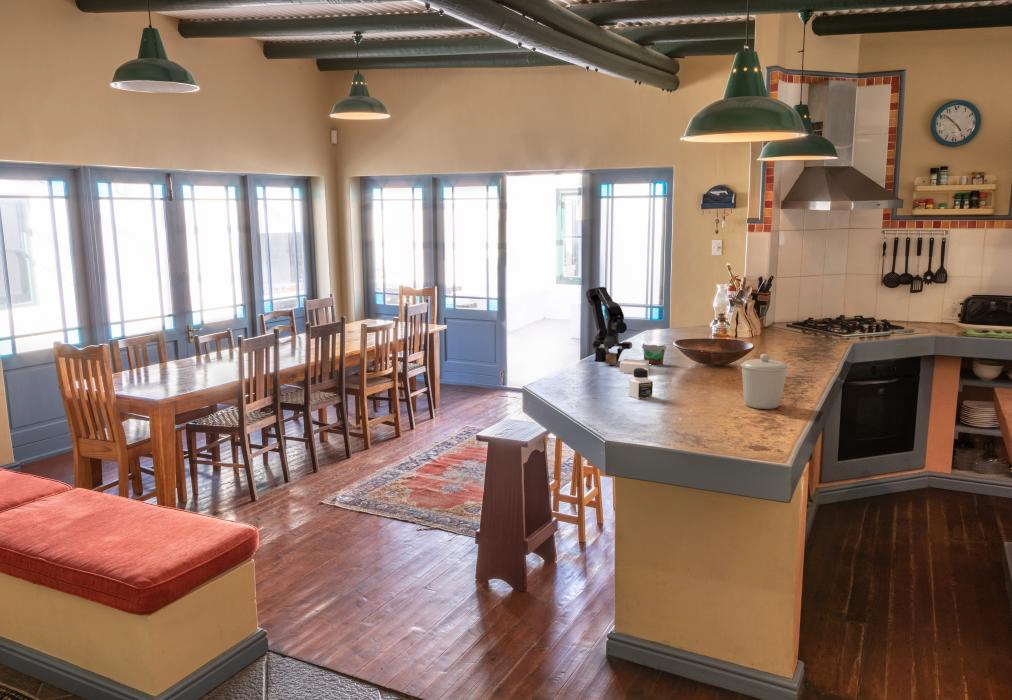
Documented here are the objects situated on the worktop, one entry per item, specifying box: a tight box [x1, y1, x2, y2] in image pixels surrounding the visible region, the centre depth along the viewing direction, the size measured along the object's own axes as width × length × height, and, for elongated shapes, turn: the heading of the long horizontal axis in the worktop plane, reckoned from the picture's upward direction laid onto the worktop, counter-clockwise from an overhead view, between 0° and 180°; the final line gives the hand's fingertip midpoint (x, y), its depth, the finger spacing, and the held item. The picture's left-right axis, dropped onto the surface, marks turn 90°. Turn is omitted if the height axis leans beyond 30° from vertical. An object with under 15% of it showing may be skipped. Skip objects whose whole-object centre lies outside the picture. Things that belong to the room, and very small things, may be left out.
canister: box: [740, 353, 790, 410], centre depth 312 cm, size 18×18×21 cm
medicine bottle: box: [628, 368, 654, 400], centre depth 328 cm, size 7×7×12 cm
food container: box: [641, 343, 667, 366], centre depth 399 cm, size 12×6×10 cm, turn 62°
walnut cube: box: [605, 352, 619, 366], centre depth 397 cm, size 5×5×5 cm
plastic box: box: [619, 358, 650, 374], centre depth 382 cm, size 12×12×5 cm
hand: (611, 361), depth 397 cm, fingers closed on walnut cube, 5 cm apart
